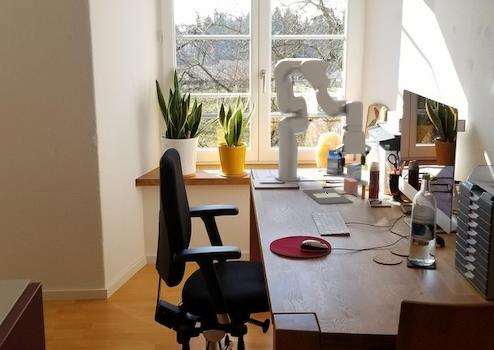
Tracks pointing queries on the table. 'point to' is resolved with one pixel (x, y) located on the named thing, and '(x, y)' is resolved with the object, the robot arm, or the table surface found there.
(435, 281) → the table surface
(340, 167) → the label tape box
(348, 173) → the medicine box
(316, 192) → the mat
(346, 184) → the card box
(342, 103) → the robot arm
